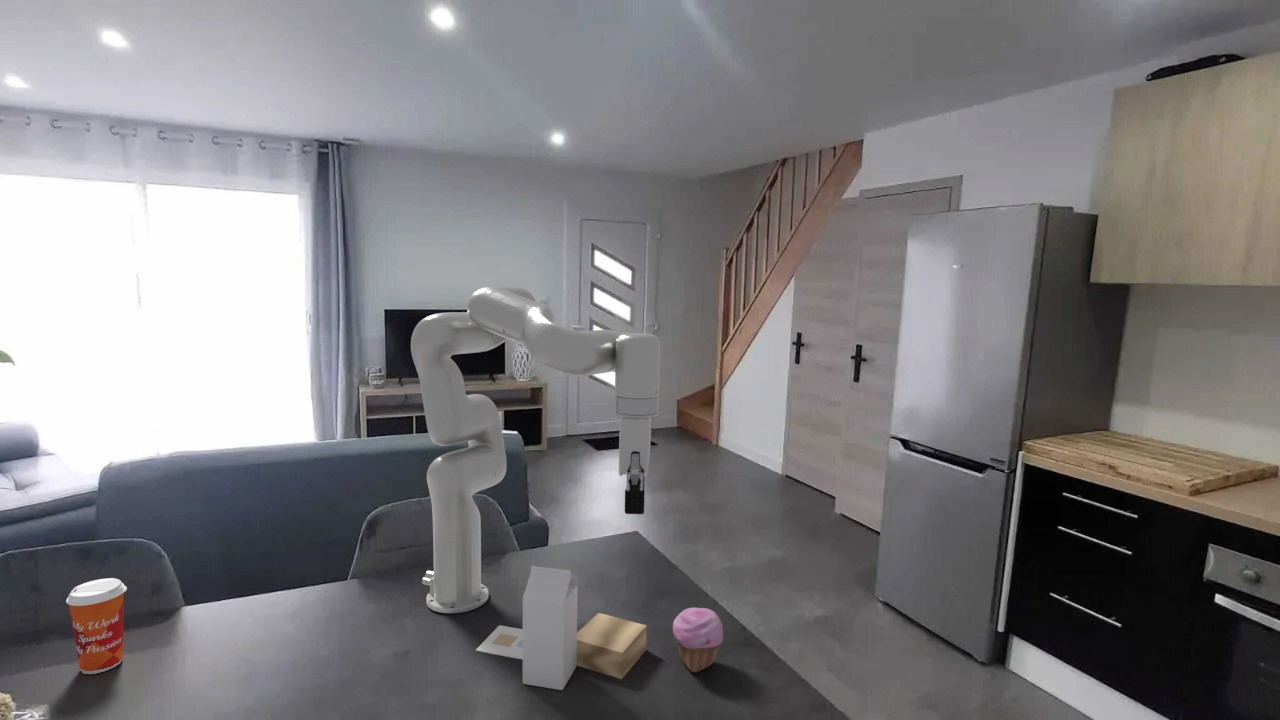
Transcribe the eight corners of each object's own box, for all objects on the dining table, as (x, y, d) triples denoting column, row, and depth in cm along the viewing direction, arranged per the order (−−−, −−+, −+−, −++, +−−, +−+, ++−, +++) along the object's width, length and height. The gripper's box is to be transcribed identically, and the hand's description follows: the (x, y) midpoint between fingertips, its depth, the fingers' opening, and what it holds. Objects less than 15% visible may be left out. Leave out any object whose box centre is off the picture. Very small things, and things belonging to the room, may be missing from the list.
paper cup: (65, 684, 104) (58, 601, 103) (79, 659, 111) (73, 581, 110) (125, 671, 108) (120, 592, 106) (136, 648, 115) (131, 573, 113)
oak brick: (570, 665, 113) (570, 638, 113) (598, 637, 122) (598, 612, 122) (621, 680, 109) (622, 652, 108) (646, 651, 118) (646, 625, 117)
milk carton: (562, 691, 105) (563, 580, 103) (522, 684, 107) (522, 574, 105) (576, 667, 112) (578, 562, 110) (538, 660, 114) (539, 557, 112)
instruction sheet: (475, 650, 116) (475, 649, 116) (499, 626, 125) (499, 625, 125) (537, 662, 113) (536, 661, 113) (556, 636, 122) (556, 635, 122)
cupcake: (663, 656, 116) (665, 603, 115) (705, 646, 119) (707, 595, 118) (687, 684, 108) (689, 628, 107) (731, 673, 111) (733, 618, 110)
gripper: (617, 397, 118) (615, 488, 120) (612, 415, 101) (610, 521, 103) (657, 398, 118) (655, 488, 120) (659, 416, 101) (657, 522, 103)
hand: (634, 503), depth 111 cm, fingers open, 9 cm apart
